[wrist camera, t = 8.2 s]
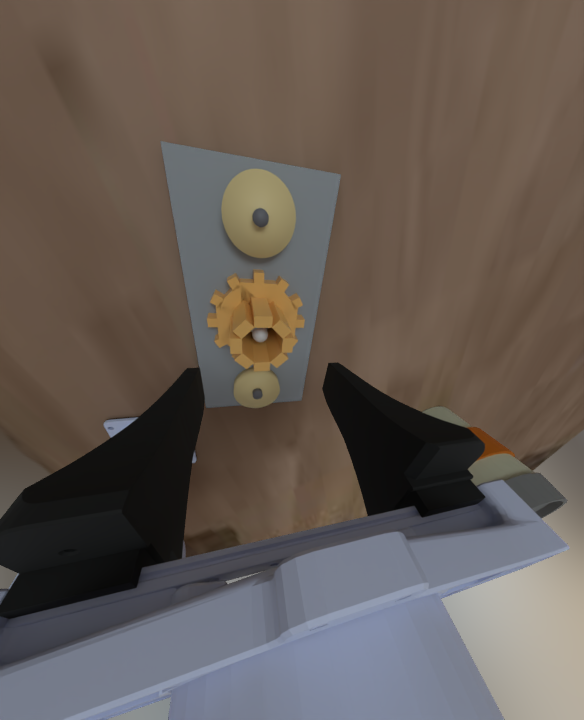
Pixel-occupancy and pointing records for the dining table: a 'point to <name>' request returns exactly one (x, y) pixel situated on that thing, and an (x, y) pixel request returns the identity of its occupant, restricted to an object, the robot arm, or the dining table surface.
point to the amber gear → (256, 320)
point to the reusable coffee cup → (507, 469)
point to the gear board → (249, 256)
